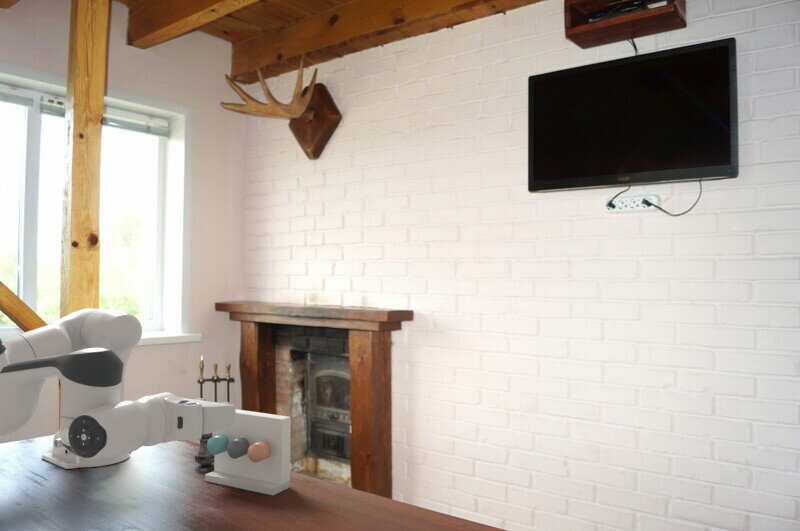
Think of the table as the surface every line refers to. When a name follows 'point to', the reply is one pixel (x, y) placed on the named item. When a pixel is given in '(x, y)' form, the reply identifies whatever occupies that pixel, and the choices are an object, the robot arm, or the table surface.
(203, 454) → the grey stone chess piece
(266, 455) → the terracotta button
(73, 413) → the robot arm
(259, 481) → the console
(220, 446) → the teal button
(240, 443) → the charcoal button
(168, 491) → the table surface
